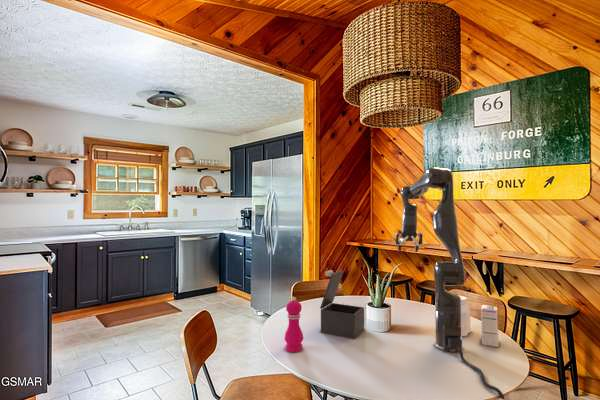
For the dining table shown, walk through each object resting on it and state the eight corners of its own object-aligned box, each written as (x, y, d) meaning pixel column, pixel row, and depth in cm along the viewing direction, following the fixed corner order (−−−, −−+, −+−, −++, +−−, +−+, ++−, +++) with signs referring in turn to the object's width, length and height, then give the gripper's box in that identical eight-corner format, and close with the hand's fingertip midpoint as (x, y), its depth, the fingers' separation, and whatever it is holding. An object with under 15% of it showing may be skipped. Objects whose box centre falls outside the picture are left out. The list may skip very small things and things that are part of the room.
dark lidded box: (364, 329, 155) (364, 307, 155) (354, 338, 144) (354, 314, 144) (332, 323, 163) (332, 302, 163) (320, 332, 152) (320, 309, 152)
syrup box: (498, 347, 135) (498, 309, 135) (481, 344, 138) (480, 307, 138) (498, 342, 140) (497, 306, 140) (481, 339, 143) (481, 304, 143)
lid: (343, 270, 160) (334, 265, 163) (333, 275, 149) (322, 269, 152) (332, 302, 163) (323, 297, 165) (321, 309, 152) (311, 303, 154)
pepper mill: (302, 345, 138) (302, 294, 138) (303, 352, 130) (303, 299, 131) (284, 345, 137) (284, 294, 138) (284, 353, 130) (284, 299, 130)
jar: (449, 325, 160) (449, 292, 160) (472, 330, 154) (471, 296, 154) (441, 332, 151) (441, 297, 151) (465, 337, 145) (464, 301, 145)
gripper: (397, 224, 183) (396, 253, 186) (425, 224, 182) (423, 254, 185) (394, 221, 190) (393, 249, 193) (420, 221, 190) (419, 249, 193)
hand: (408, 251), depth 189 cm, fingers open, 8 cm apart
